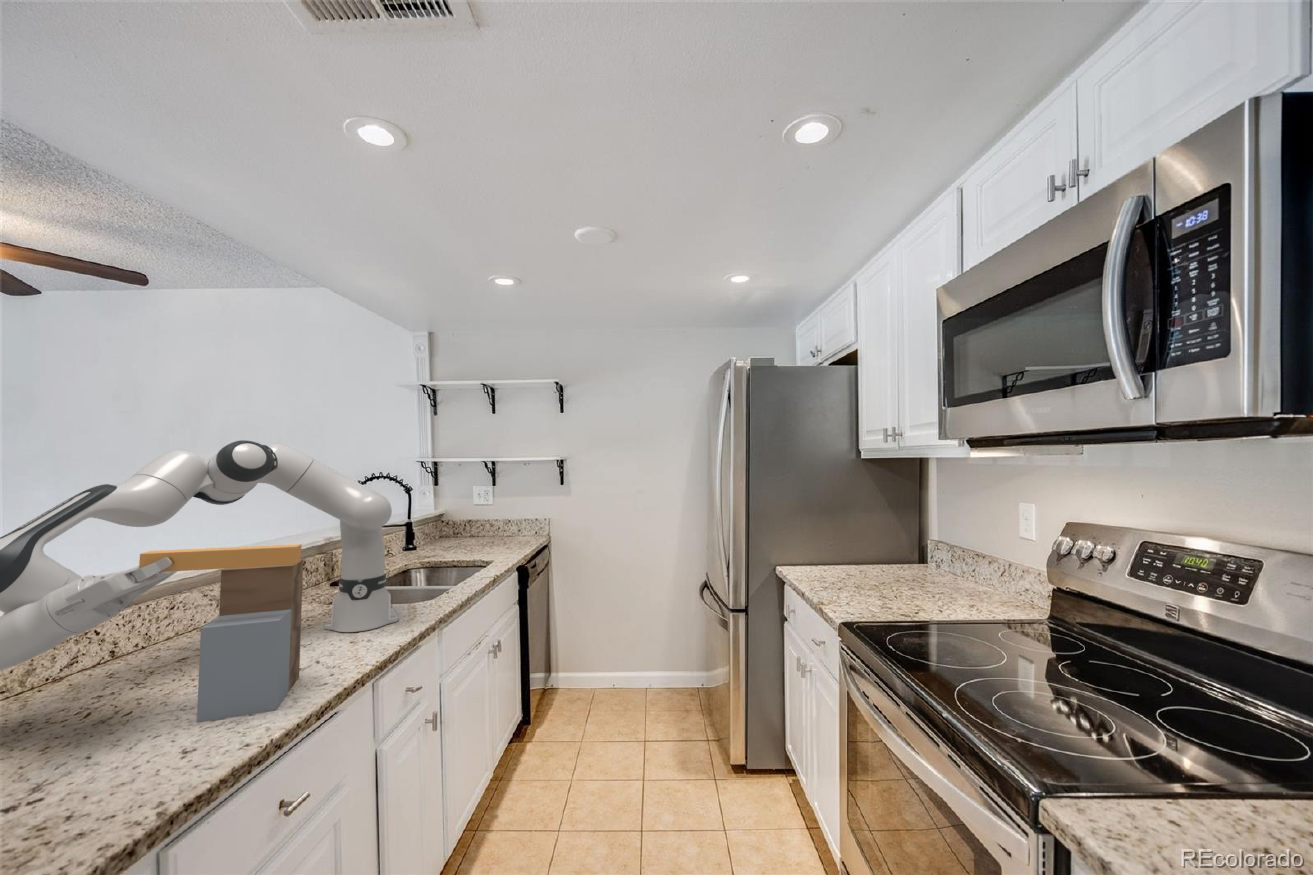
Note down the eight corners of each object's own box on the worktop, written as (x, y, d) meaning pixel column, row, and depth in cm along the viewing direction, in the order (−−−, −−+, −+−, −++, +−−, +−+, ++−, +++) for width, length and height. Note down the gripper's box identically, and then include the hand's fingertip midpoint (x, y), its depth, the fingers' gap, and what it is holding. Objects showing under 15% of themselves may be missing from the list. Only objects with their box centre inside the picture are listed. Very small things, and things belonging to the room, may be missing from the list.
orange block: (149, 569, 95) (150, 550, 95) (300, 561, 104) (301, 544, 104) (138, 573, 92) (139, 554, 92) (295, 564, 101) (296, 546, 101)
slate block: (215, 703, 99) (219, 616, 100) (288, 692, 104) (291, 609, 105) (196, 722, 92) (200, 628, 93) (276, 710, 97) (279, 620, 97)
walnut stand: (231, 686, 107) (236, 563, 108) (299, 677, 111) (303, 558, 113) (215, 703, 99) (221, 570, 101) (288, 692, 104) (292, 565, 105)
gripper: (34, 601, 80) (135, 552, 85) (114, 575, 99) (193, 536, 104) (59, 633, 81) (158, 584, 86) (133, 601, 100) (211, 562, 105)
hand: (177, 557), depth 95 cm, fingers closed on orange block, 3 cm apart
